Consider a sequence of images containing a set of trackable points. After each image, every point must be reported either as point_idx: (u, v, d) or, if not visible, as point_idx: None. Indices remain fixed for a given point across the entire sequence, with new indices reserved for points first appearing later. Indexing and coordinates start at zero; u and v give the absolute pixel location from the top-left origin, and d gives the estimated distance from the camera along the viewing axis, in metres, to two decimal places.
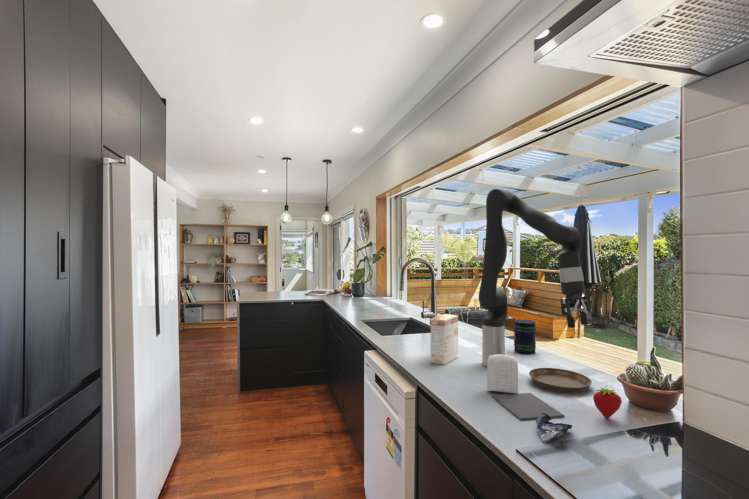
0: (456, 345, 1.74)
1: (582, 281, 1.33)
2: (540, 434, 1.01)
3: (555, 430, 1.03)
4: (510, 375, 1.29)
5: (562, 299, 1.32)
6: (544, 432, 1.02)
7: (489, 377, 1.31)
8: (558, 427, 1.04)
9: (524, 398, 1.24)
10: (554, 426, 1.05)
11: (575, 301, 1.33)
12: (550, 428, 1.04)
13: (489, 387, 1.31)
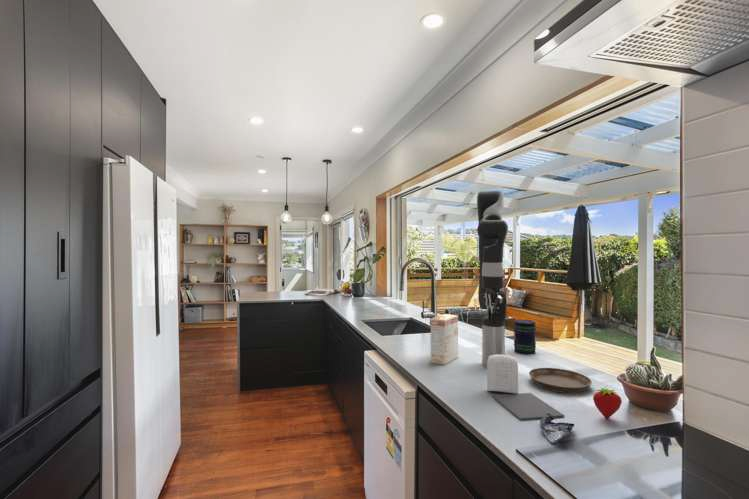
0: (456, 345, 1.74)
1: (483, 276, 1.37)
2: (546, 435, 1.00)
3: (558, 430, 1.03)
4: (510, 375, 1.29)
5: None
6: (549, 433, 1.02)
7: (489, 377, 1.31)
8: (560, 427, 1.04)
9: (524, 398, 1.24)
10: (556, 426, 1.05)
11: None
12: (553, 428, 1.04)
13: (489, 387, 1.31)
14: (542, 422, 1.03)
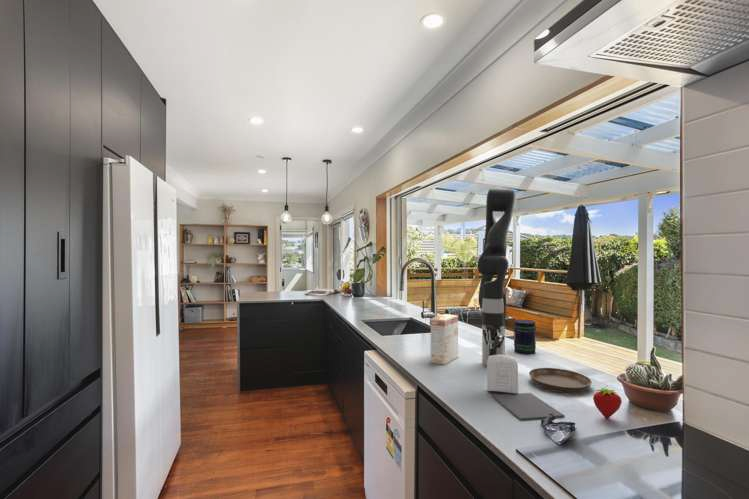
0: (456, 345, 1.74)
1: (483, 312, 1.37)
2: (550, 436, 1.00)
3: (560, 429, 1.04)
4: (510, 375, 1.29)
5: None
6: (552, 433, 1.01)
7: (489, 378, 1.31)
8: (561, 426, 1.04)
9: (524, 398, 1.24)
10: (557, 425, 1.05)
11: None
12: (554, 428, 1.04)
13: (489, 388, 1.30)
14: (545, 423, 1.03)
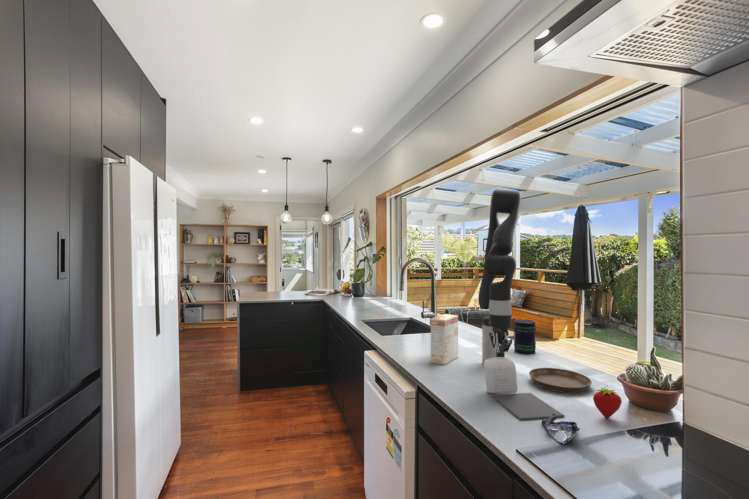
0: (456, 345, 1.74)
1: (490, 314, 1.31)
2: (553, 436, 1.00)
3: (561, 429, 1.04)
4: (509, 378, 1.27)
5: None
6: (554, 433, 1.01)
7: (488, 382, 1.29)
8: (562, 426, 1.05)
9: (524, 398, 1.24)
10: (558, 425, 1.05)
11: None
12: (555, 428, 1.04)
13: (489, 391, 1.30)
14: (547, 423, 1.02)
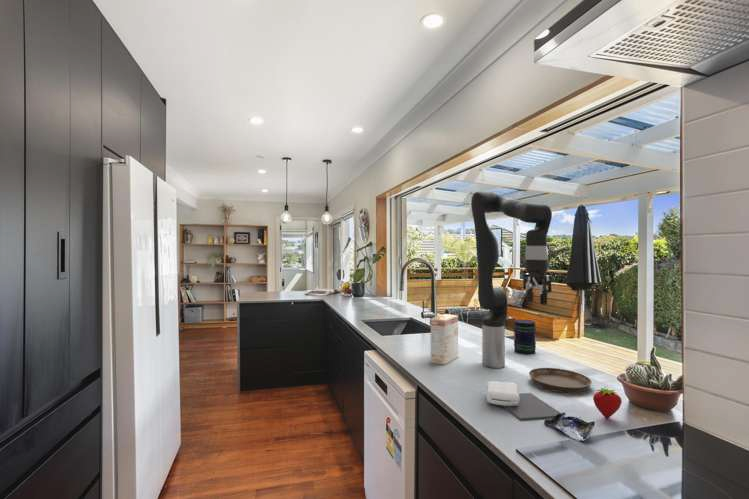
0: (456, 345, 1.74)
1: (527, 260, 1.38)
2: (568, 435, 1.00)
3: (565, 426, 1.06)
4: None
5: None
6: (565, 432, 1.02)
7: None
8: (564, 422, 1.07)
9: (524, 398, 1.24)
10: (560, 423, 1.07)
11: None
12: (559, 426, 1.06)
13: None
14: None
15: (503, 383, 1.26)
